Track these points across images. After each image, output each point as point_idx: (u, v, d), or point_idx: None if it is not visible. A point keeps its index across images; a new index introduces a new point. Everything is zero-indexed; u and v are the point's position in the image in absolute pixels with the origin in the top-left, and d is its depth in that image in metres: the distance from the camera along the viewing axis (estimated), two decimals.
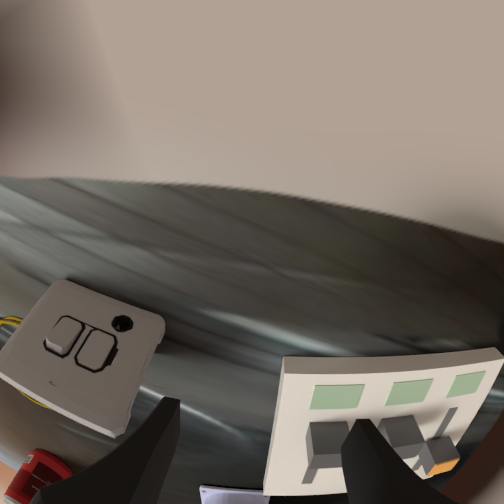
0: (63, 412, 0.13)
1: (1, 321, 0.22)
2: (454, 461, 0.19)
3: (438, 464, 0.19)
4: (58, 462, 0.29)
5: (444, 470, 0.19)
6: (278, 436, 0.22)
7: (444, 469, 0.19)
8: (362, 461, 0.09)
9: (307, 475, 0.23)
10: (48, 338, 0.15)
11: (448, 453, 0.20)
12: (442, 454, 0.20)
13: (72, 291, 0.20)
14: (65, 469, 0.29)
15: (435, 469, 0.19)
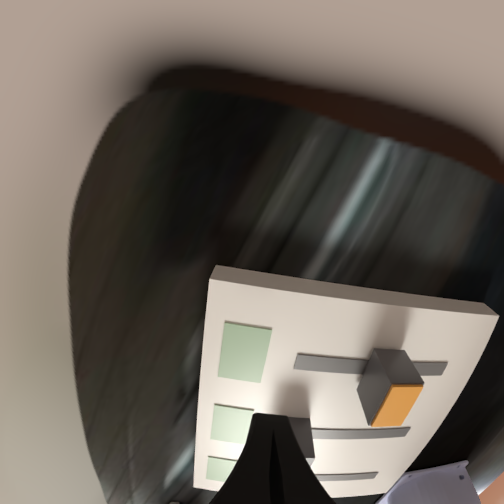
0: None
1: None
2: (392, 395, 0.12)
3: (373, 421, 0.13)
4: None
5: (410, 402, 0.13)
6: None
7: (404, 404, 0.13)
8: (270, 460, 0.09)
9: (355, 478, 0.20)
10: None
11: (377, 389, 0.14)
12: (372, 398, 0.14)
13: None
14: None
15: (385, 423, 0.13)
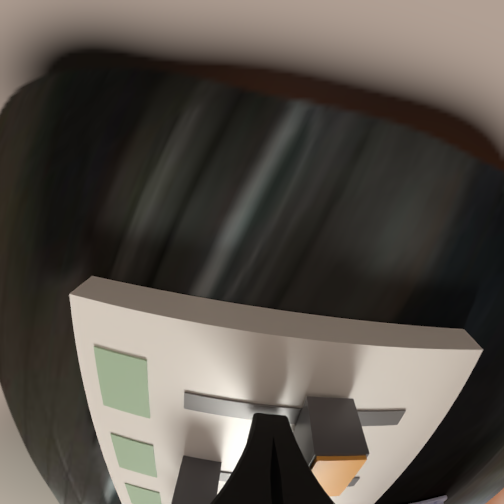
0: None
1: None
2: (318, 468, 0.08)
3: None
4: None
5: (348, 474, 0.09)
6: None
7: (339, 477, 0.09)
8: None
9: None
10: None
11: (303, 454, 0.10)
12: None
13: None
14: None
15: None
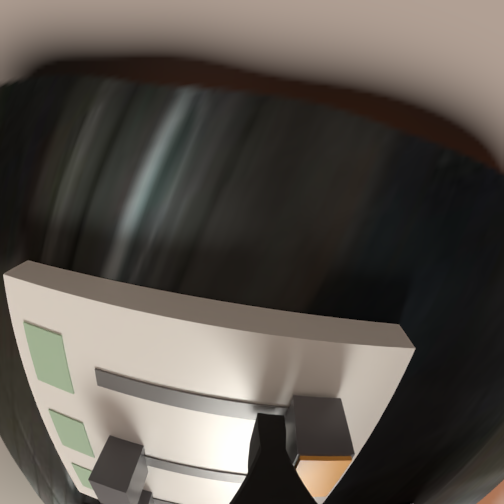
0: None
1: None
2: (302, 468, 0.08)
3: None
4: None
5: (334, 475, 0.09)
6: None
7: (325, 477, 0.09)
8: (255, 458, 0.09)
9: None
10: None
11: (289, 453, 0.10)
12: None
13: None
14: None
15: None
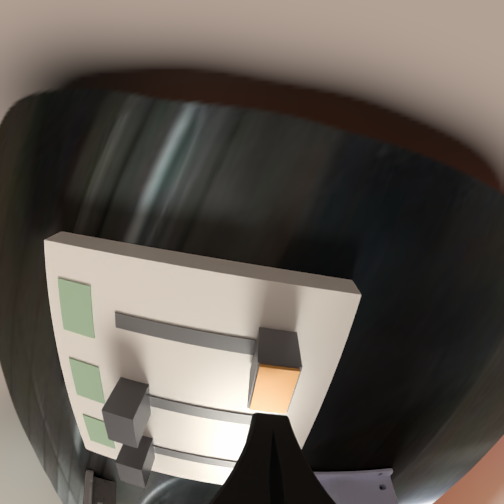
0: None
1: None
2: (261, 375, 0.13)
3: (250, 404, 0.14)
4: None
5: (288, 387, 0.13)
6: (155, 469, 0.21)
7: (281, 389, 0.13)
8: (270, 460, 0.09)
9: (230, 466, 0.20)
10: None
11: (253, 369, 0.14)
12: (251, 379, 0.14)
13: None
14: None
15: (264, 407, 0.14)
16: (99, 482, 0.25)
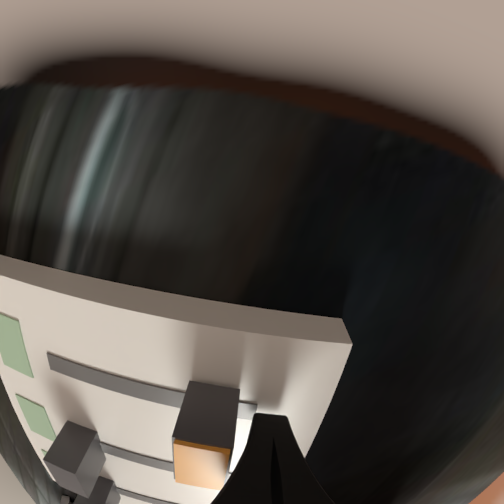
0: None
1: None
2: (179, 453, 0.08)
3: (175, 476, 0.09)
4: None
5: (218, 467, 0.09)
6: None
7: (209, 468, 0.09)
8: None
9: None
10: None
11: None
12: None
13: None
14: None
15: (193, 482, 0.09)
16: None
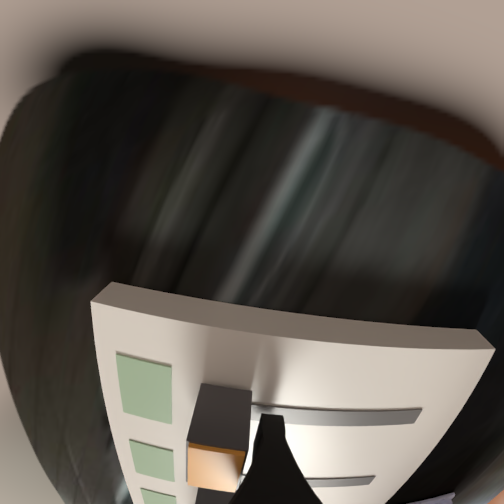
0: None
1: None
2: (193, 456, 0.08)
3: (188, 479, 0.09)
4: None
5: (232, 469, 0.09)
6: None
7: (222, 471, 0.09)
8: None
9: None
10: None
11: None
12: None
13: None
14: None
15: (205, 485, 0.09)
16: None
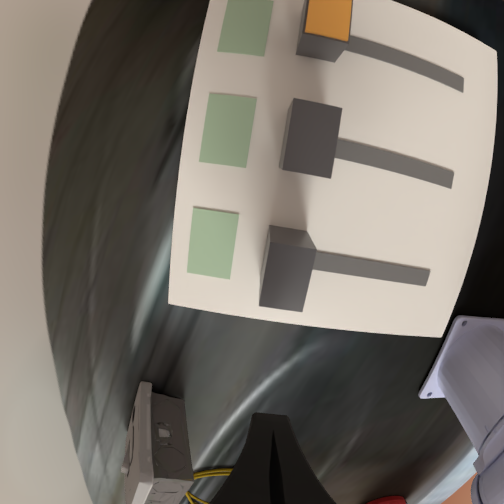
0: (140, 499, 0.15)
1: (187, 496, 0.27)
2: None
3: (305, 25, 0.10)
4: None
5: (344, 5, 0.10)
6: (287, 318, 0.18)
7: (337, 6, 0.10)
8: (270, 460, 0.09)
9: (402, 278, 0.17)
10: None
11: (304, 6, 0.11)
12: (302, 18, 0.11)
13: (127, 433, 0.23)
14: (379, 502, 0.27)
15: (322, 28, 0.10)
16: (160, 400, 0.21)
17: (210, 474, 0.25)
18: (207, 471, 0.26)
